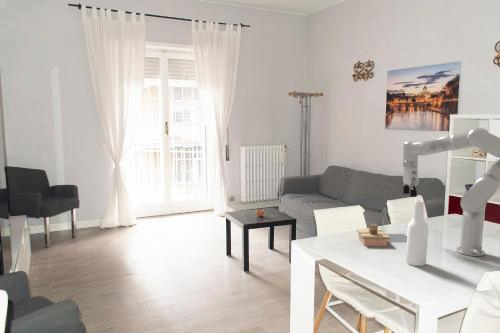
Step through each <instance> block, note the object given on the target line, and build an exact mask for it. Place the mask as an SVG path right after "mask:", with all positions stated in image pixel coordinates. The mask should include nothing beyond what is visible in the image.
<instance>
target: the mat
mask: <svg viewBox="0 0 500 333" xmlns="http://www.w3.org/2000/svg"><path fill="white" fill-rule="evenodd" d="M386 234H387V235H388V236H389V237H390V239H387V243H407V235H406V234H404V233H386Z"/></svg>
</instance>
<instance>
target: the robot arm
mask: <svg viewBox="0 0 500 333" xmlns="http://www.w3.org/2000/svg"><path fill="white" fill-rule="evenodd" d="M402 146H403V147H402V167H403V174H402V187H403V189H402V191H403V192H402V193H403V195H409V194H410V196H409V197H411V198H417V195H418V194H417V193H418V192H417V190H418V186H419V170H418V169H419V168H418V166H419V156H430V155H433V154H439V153H443V152H449V151H450V152H451V151H452V152H453V151H459V150H463V149H469V148H472V147H473V148H474V147H475V148H478V149H479V150H481V151H484V153H487V154H489V155H491V156H493V157H495V158H496V159H495V161H494V162H493V164H491V166H490V167H489V169H488V170H487V171H486V172H485V173H484V174H483V175H481V176H480V177H479V178H478V179H477V180H476V181H475V182H474V183H473V184H472V186H470V187H469V189H468V190H467V191H466V192H465V194H463V196H462V197H461V198H460V203H459V204H460V207H461V209H462V217H461V231H460V244H459V245H460V246H458V247H456V252H458V253H460V254H462V255H466V256H468V257H469V256H470V257H483V256H485V255H486V251H484V250H483V249H482V248H483V247H482V246H483V235H484V223H485V213H486V212H485V211H486V206H487V203H488V202H489V201H490V200H491V199H492V198H493V196H494V195H495V194H496V193H497V191H498V190H499V189H500V137H499V136H496V135H494V134H492V133H491V132H489V130H487V129H486V128H483V127H476V128H473V129H468V130H465V131H464V130H463V131H461V132H459V131H458V132H454V133H451V134H449V135H446V136H443V137H440V138H439V137H438V138H435V139H431V140H425V141H404V142H403V144H402Z"/></svg>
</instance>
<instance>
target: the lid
mask: <svg viewBox="0 0 500 333" xmlns="http://www.w3.org/2000/svg"><path fill="white" fill-rule="evenodd" d="M378 228H379V227H378V224H377V223H369V224H368V229H357V230H356V233H357V234H358V236H359V235H360V236H361V237H362V238H363V239H390V237H389V236H388V235H387V234H388V233H386V232H385V231H383V230H380V229H379V230H378Z"/></svg>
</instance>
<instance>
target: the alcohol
mask: <svg viewBox="0 0 500 333" xmlns="http://www.w3.org/2000/svg"><path fill="white" fill-rule="evenodd" d="M424 203H425V201H424V200H421V199H416V200H414V208H413V212H412V214H413V215H412V219H411V220H410V221H409V222H408V225H407V230H406V231H407V233H406V234H407V235H406V236H407V242H406V253H405V254H406V255H405V261H406V263H407V264H408V265H410V266H413V267H425V265H426V264H427V253H428V236H429V226H428V223H427V222H426V221H425V219H424V218H425V217H424V216H425V214H424V213H425V212H424V205H425V204H424Z"/></svg>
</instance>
